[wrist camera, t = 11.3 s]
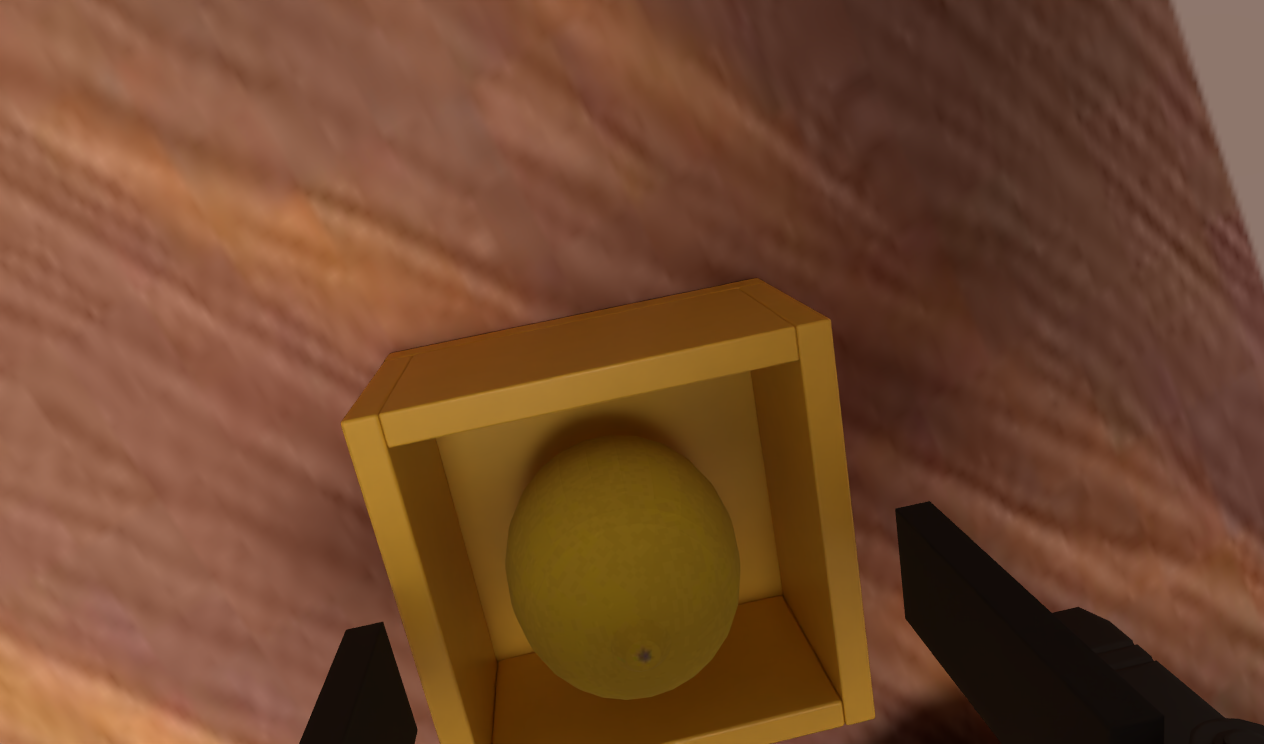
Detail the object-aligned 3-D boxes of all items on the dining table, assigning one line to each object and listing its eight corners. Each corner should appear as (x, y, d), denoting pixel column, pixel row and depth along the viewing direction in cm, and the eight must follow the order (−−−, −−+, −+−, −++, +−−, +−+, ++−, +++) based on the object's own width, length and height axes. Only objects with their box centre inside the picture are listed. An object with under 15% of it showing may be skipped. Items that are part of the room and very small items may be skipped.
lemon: (721, 537, 24) (811, 722, 16) (546, 597, 23) (553, 812, 16) (670, 370, 22) (743, 486, 14) (482, 432, 22) (454, 584, 14)
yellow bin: (757, 277, 22) (832, 318, 17) (802, 595, 25) (876, 719, 20) (388, 353, 22) (338, 422, 16) (479, 671, 25) (463, 820, 19)
